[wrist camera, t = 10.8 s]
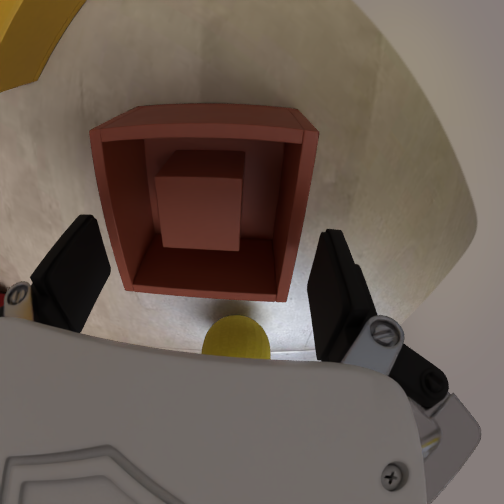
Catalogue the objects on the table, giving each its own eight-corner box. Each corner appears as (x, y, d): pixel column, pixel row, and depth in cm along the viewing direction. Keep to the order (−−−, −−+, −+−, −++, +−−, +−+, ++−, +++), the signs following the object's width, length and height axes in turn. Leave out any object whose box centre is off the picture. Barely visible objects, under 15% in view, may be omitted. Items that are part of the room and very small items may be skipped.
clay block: (245, 151, 15) (243, 178, 12) (242, 212, 17) (238, 252, 14) (175, 149, 15) (153, 176, 12) (179, 209, 17) (162, 247, 14)
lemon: (247, 339, 27) (245, 414, 21) (197, 320, 25) (185, 398, 19) (281, 310, 24) (287, 394, 18) (226, 286, 22) (218, 376, 16)
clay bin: (298, 108, 14) (319, 131, 9) (279, 242, 19) (286, 302, 15) (137, 106, 13) (88, 130, 9) (150, 234, 19) (124, 291, 15)
